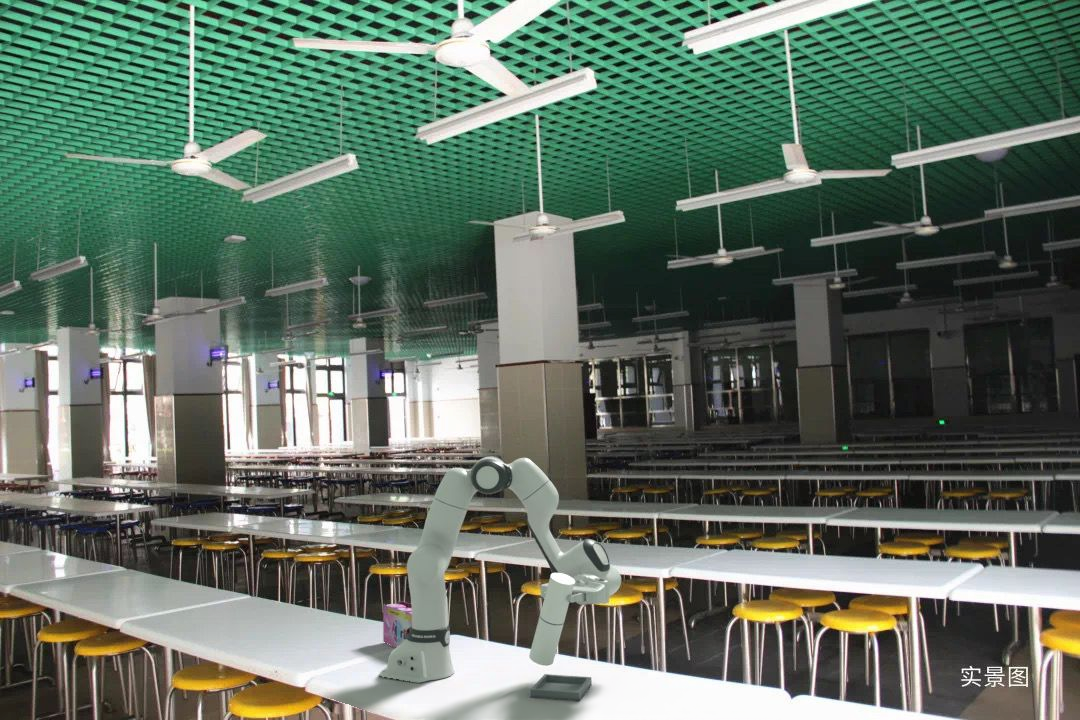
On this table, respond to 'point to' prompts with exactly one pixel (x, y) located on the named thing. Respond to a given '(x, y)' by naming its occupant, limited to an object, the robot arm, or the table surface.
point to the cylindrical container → (551, 619)
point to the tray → (561, 687)
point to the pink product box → (396, 622)
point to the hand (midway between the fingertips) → (557, 597)
